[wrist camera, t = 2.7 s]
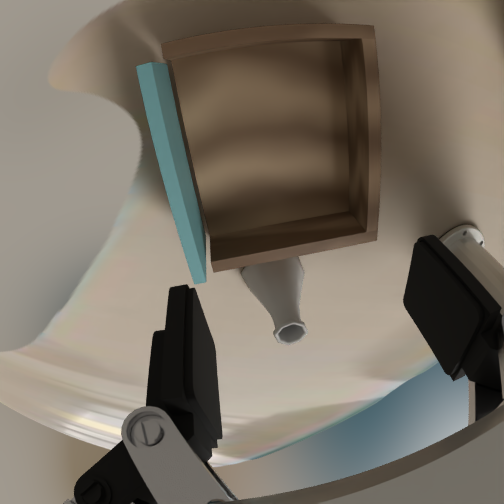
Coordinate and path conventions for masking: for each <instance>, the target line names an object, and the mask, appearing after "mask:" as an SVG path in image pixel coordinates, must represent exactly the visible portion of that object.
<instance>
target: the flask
mask: <svg viewBox="0 0 504 504" xmlns="http://www.w3.org/2000/svg"><path fill="white" fill-rule="evenodd" d="M241 275H242V277H243V278H244V280H245V282H246V284H247V286H248V287H249V289H250V291H251V292H252V293H253V294H254V295H255V297H256V298H257V299H258V300H259V301H260V302H261V303H262V305H263V306H264V307H265V308H266V310H267V311H268V312H269V313H270V315H271V317H272V319H273V321H274V325H275V330H274V331H273V334H274V336H275V338H276V340H277V341H278V343H282V344H285V345H291V344H294V343H296V342H299V341H301V340H302V339H303V338H304V337H305V336H306V335H307V334H308V331H307V328H306V326H305V324H304V322H302V321H301V319H300V308H299V305H300V297H301V290H302V284H303V279H304V270H303V267H302V265H301V262H300V260H299V257H298V256H297V257H292V258H287V259H282V260H276V261H271V262H266V263H261V264H256V265H251V266H246V267H245V268H244V270H243V271H242V272H241Z"/></svg>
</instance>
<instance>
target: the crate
mask: <svg viewBox="0 0 504 504" xmlns="http://www.w3.org/2000/svg"><path fill="white" fill-rule="evenodd" d="M161 47H162V53H163V58H164V59H166V60H171V62H172V68H173V73H174V78H175V83H176V88H177V93H178V98H179V103H180V107H181V112H182V117H183V122H184V126H185V131H186V136H187V140H188V145H189V149H190V154H191V158H192V163H193V167H194V171H195V176H196V180H197V184H198V189H199V193H200V197H201V201H202V206H203V210H204V214H205V218H206V222H207V226H208V230H209V234H210V252H211V265H212V268H213V272H219V271H224V270H230V269H235V268H240V267H245V266H251V265H256V264H261V263H266V262H271V261H276V260H282V259H287V258H292V257H297V256H302V255H307V254H312V253H317V252H322V251H327V250H332V249H337V248H342V247H347V246H352V245H357V244H362V243H367V242H371V241H376V240H377V232H378V218H379V202H380V180H381V109H380V88H379V72H378V60H377V49H376V40H375V31H374V26H371V25H357V24H287V25H272V26H260V27H251V28H242V29H235V30H228V31H221V32H215V33H209V34H204V35H198V36H193V37H189V38H184V39H179V40H175V41H171V42H167V43H163V44H161Z"/></svg>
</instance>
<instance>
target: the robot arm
mask: <svg viewBox="0 0 504 504" xmlns="http://www.w3.org/2000/svg"><path fill="white" fill-rule="evenodd" d="M403 303H404V306H405V308H406V310H407V311H408V313H409V315H410V316H411V318H412V319H413V321H414V322H415V324H416V325H417V327H418V329H419V330H420V332H421V333H422V335H423V337H424V338H425V340H426V341H427V343H428V345H429V346H430V348H431V350H432V351H433V353H434V355H435V356H436V358H437V360H438V361H439V363H440V365H441V366H442V368H443V370H444V372H445V373H446V374H447V375H450V376H451V378H452V380H453V381H455V380H457V379H459V378H461V377H463V376H465V374H466V375H467V377H468V379H469V380H468V381H469V423H468V426H467V427H465V428H464V429H462V430H460V431H458V432H456V433H454V434H453V435H451V436H449V437H447V438H445V439H443V440H441V441H439V442H437V443H435V444H432V445H430V446H428V447H426V448H424V449H422V450H420V451H417V452H415V453H413V454H410V455H408V456H405V457H403V458H401V459H398V460H396V461H393V462H390V463H388V464H385V465H382V466H380V467H377V468H374V469H371V470H368V471H365V472H362V473H360V474H356V475H353V476H350V477H346V478H343V479H340V480H336V481H332V482H329V483H325V484H321V485H317V486H313V487H309V488H305V489H300V490H296V491H290V492H285V493H280V494H275V495H270V496H264V497H257V498H250V499H243V500H238V498H237V497H236V496H235V495H234V494H233V492H232V491H231V490H230V489H229V488H228V486H227V485H226V484H225V483H224V481H223V480H222V479H221V478H220V477H219V475H218V474H217V473H216V471H214V469H213V468H212V466H211V465H210V464H209V462H208V460H209V459H210V458H211V457H212V448H218V446H217V439H222V425H221V413H220V402H219V390H218V377H217V363H216V350H215V344H214V341H213V338H212V335H211V333H210V330H209V327H208V324H207V321H206V318H205V316H204V313H203V310H202V307H201V304H200V301H199V298H198V295H197V292H196V290H195V288H190V289H189V286H188V285H187V284H186V285H181V286H175V287H170V289H169V296H168V305H167V315H166V325H165V330H160V331H155V332H154V334H153V339H152V347H151V356H150V365H149V375H148V386H147V398H146V407H141V408H138V409H136V410H134V411H133V412H132V413H130V414H129V415H128V416H127V418H126V419H125V420H124V423H123V425H122V431H121V435H122V439H123V440H122V441H121V442H120V443H118V444H117V445H116V446H115V447H114V448H113V449H112V450H111V451H110V452H108V453H107V454H106V455H105V456H104V457H103V458H102V459H100V460H99V461H98V462H97V463H96V464H95V465H94V466H93V467H91V468H90V469H89V470H88V471H87V472H85V473H84V474H83V475H82V476H81V477H80V478H79V479H78V481H77V482H76V485H75V487H74V498H73V499H72V500H69V499H67V500H66V501H65V502H64V503H63V504H504V267H503V266H502V265H501V264H500V263H499V262H498V261H497V260H496V259H495V258H494V257H493V256H492V255H491V254H489V253H488V252H487V251H486V250H485V249H484V238H483V235H482V233H481V232H480V231H479V230H478V229H477V228H476V227H474V226H472V225H461V226H458V227H456V228H454V229H452V230H450V231H449V232H447V233H446V234H445V235H444V236H443V237H442V238H441V239H440V240H439V239H438V238H437V237H436V236H434V235H429V236H424V237H420V238H419V239H418V240H417V243H415V244H414V249H413V254H412V260H411V265H410V270H409V275H408V280H407V285H406V289H405V294H404V298H403Z"/></svg>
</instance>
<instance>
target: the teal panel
mask: <svg viewBox="0 0 504 504" xmlns="http://www.w3.org/2000/svg"><path fill="white" fill-rule="evenodd" d="M136 69H137V74H138V79H139V84H140V88H141V93H142V97H143V102H144V106H145V110H146V115H147V119H148V123H149V127H150V131H151V136H152V140H153V144H154V148H155V151H156V155H157V159H158V163H159V167H160V171H161V174H162V178H163V182H164V185H165V189H166V193H167V196H168V200H169V203H170V207H171V210H172V214H173V217H174V220H175V224H176V227H177V231H178V234H179V237H180V240H181V244H182V247H183V250H184V253H185V257H186V260H187V263H188V266H189V269H190V272H191V275H192V278H193V281H194V284H199V283H205V282H206V235H205V231H204V227H203V223H202V219H201V215H200V211H199V207H198V203H197V199H196V194H195V190H194V186H193V182H192V178H191V173H190V169H189V165H188V161H187V156H186V152H185V147H184V143H183V138H182V134H181V129H180V125H179V120H178V116H177V111H176V106H175V101H174V97H173V92H172V87H171V82H170V77H169V72H168V67H167V64H164V63H156V62H149V63H146V64H142V65H139V66H136Z"/></svg>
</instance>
